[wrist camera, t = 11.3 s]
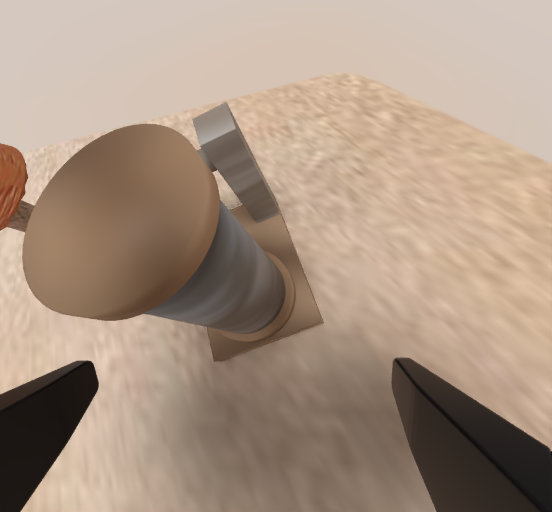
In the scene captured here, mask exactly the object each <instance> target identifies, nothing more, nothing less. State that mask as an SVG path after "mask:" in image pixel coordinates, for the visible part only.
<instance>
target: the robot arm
mask: <svg viewBox="0 0 552 512" xmlns="http://www.w3.org/2000/svg"><path fill="white" fill-rule="evenodd" d="M98 387H99V382H98V378H97V375H96V371H95V367H94V364H93V363H92V362H91V361H75V362H73V363H71V364H68V365H66V366H64V367H62V368H59V369H57V370H55V371H52V372H50V373H48V374H46V375H43V376H41V377H39V378H37V379H34V380H32V381H30V382H28V383H25V384H23V385H21V386H18V387H16V388H14V389H12V390H9V391H7V392H5V393H3V394H0V512H21V510H22V509H23V507H24V506H25V504H26V503H27V501H28V500H29V498H30V497H31V496H32V494H33V493H34V491H35V490H36V488H37V487H38V485H39V484H40V482H41V481H42V479H43V478H44V477H45V475H46V474H47V472H48V471H49V469H50V468H51V466H52V465H53V463H54V462H55V461H56V459H57V458H58V456H59V455H60V453H61V452H62V450H63V449H64V447H65V446H66V444H67V443H68V441H69V439H70V438H71V436H72V434H73V433H74V431H75V429H76V427H77V426H78V424H79V422H80V420H81V419H82V417H83V415H84V413H85V412H86V410H87V408H88V407H89V405H90V403H91V401H92V400H93V398H94V396H95V394H96V393H97V390H98ZM392 390H393V394H394V397H395V400H396V404H397V407H398V410H399V413H400V417H401V420H402V423H403V427H404V430H405V433H406V436H407V440H408V443H409V446H410V449H411V451H412V454H413V456H414V459H415V461H416V464H417V466H418V468H419V471H420V473H421V475H422V478H423V480H424V483H425V485H426V487H427V490H428V492H429V494H430V497H431V499H432V502H433V504H434V506H435V509H436V511H437V512H552V451H550V448H549V447H547V446H546V445H544V444H542V443H541V442H539V441H538V440H536V439H535V438H533V437H532V436H530V435H528V434H527V433H525V432H524V431H522V430H521V429H519V428H518V427H516V426H514V425H513V424H511V423H510V422H508V421H507V420H505V419H504V418H502V417H501V416H499V415H497V414H496V413H494V412H493V411H491V410H490V409H488V408H487V407H485V406H483V405H482V404H480V403H479V402H477V401H476V400H474V399H473V398H471V397H469V396H468V395H466V394H465V393H463V392H462V391H460V390H459V389H457V388H455V387H454V386H452V385H451V384H449V383H448V382H446V381H445V380H443V379H442V378H440V377H438V376H437V375H435V374H434V373H432V372H431V371H429V370H428V369H426V368H424V367H423V366H421V365H420V364H418V363H417V362H415V361H414V360H412V359H410V358H395V359H394V360H393V368H392Z"/></svg>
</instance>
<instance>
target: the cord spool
mask: <svg viewBox="0 0 552 512" xmlns="http://www.w3.org/2000/svg"><path fill="white" fill-rule="evenodd" d="M22 259H23V269H24V273H25V277H26V280H27V283H28V285H29V288H30V289H31V291H32V292H33V294H34V295H35V297H36V298H37V299H38V300H39V301H40V302H41V303H42V304H43V305H45V306H46V307H48V308H49V309H51V310H53V311H56V312H58V313H61V314H65V315H71V316H77V317H84V318H90V319H97V320H104V321H116V320H123V319H128V318H132V317H135V316H138V315H141V314H143V313H144V314H149V315H153V316H158V317H163V318H168V319H172V320H177V321H182V322H187V323H191V324H196V325H201V326H205V327H210V328H215V329H216V330H217V331H218V332H219V333H221V334H222V335H224V336H225V337H227V338H230V339H233V340H238V341H244V342H257V341H261V340H265V339H267V338H269V337H271V336H273V335H274V334H276V333H277V332H278V331H280V330H281V328H282V327H283V326H284V325H285V324H286V323H287V321H288V320H289V318H290V316H291V314H292V311H293V309H294V305H295V299H296V291H295V285H294V281H293V278H292V276H291V274H290V272H289V271H288V269H287V268H286V267H285V265H284V264H283V263H282V262H281V261H280V260H279V259H278V258H277V257H276V256H274V255H273V254H271V253H269V252H267V251H264V250H263V249H262V248H261V247H260V246H259V245H258V244H257V242H256V241H255V240H254V239H253V238H252V237H251V235H250V234H249V233H248V232H247V231H246V230H245V228H244V227H243V226H242V225H241V224H240V223H239V221H238V220H237V219H236V218H235V217H234V216H233V214H232V213H231V212H230V211H229V210H228V209H227V207H226V206H225V205H224V204H223V203H222V202H221V200H220V196H219V190H218V185H217V182H216V179H215V177H214V175H213V173H212V171H211V169H210V168H209V166H208V165H207V164H206V162H205V161H204V160H203V158H202V157H201V156H200V155H199V153H198V152H197V151H196V149H195V148H194V147H193V145H192V144H191V143H190V142H189V140H188V139H186V138H185V137H184V136H183V135H182V134H180V133H179V132H177V131H175V130H174V129H171V128H168V127H165V126H161V125H156V124H139V125H132V126H127V127H123V128H120V129H117V130H114V131H112V132H110V133H107V134H105V135H103V136H101V137H99V138H98V139H96V140H94V141H93V142H91V143H89V144H88V145H86V146H85V147H84V148H82V149H81V150H80V151H79V152H77V153H76V154H75V155H74V156H73V157H71V158H70V159H69V160H68V161H67V162H66V163H65V164H64V165H63V166H62V167H61V168H60V169H59V171H58V172H57V173H56V174H55V175H54V177H53V178H52V179H51V180H50V182H49V183H48V185H47V186H46V188H45V189H44V190H43V192H42V194H41V196H40V197H39V199H38V201H37V203H36V205H35V207H34V209H33V211H32V214H31V216H30V219H29V222H28V225H27V228H26V232H25V236H24V243H23V256H22Z"/></svg>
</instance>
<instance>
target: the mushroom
mask: <svg viewBox="0 0 552 512" xmlns="http://www.w3.org/2000/svg"><path fill="white" fill-rule="evenodd" d="M27 179H28V175H27V170H26V163H25V160H24V158H23V156H22V154H21V152H19V150H17V149H16V148H14V147H12V146H8V145H4V144H1V143H0V231H1V230H2V229H4V228H6V227H9V228H13V229H16V230H19V231H23V232H26V228H27V225H28V222H29V219H30V216H31V214H32V211H33V209H34V207H35V206H33V205H31V204H29V203H26V202H24V201H22V200H21V199H22V198H23V196H24V195H25V184H26V182H27Z"/></svg>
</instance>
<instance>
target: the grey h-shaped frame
mask: <svg viewBox="0 0 552 512" xmlns="http://www.w3.org/2000/svg"><path fill="white" fill-rule="evenodd" d="M193 123H194V127H195V130H196V134H197V137H198V141H199V144H200V147H201V148H202V149H200V150H197V152H198V153H199V155H200V156H201V157H202V158H203V160H204V161H205V162H206V164H207V165H208V166H209V168H210V169H211V171H212V172H214V171H216V170H218V171H219V172H220V174H221V175H222V177H223V178H224V179H225V181H226V182H227V183H228V185H229V186H230V187H231V189H232V190H233V191H234V193H235V194H236V196H237V197H238V198H239V200H240V201H241V202H242V204H243V205H241V206H239V207H237V208H235V209H233V210H230V212H231V213H232V214H233V216H234V217H235V218H236V219H237V220H238V221H239V223H240V224H241V225H242V226H243V227H244V228H245V230H246V231H247V232H248V233H249V234H250V235H251V237H252V238H253V239H254V240H255V241H256V242H257V244H258V245H259V246H260V247H261V248H262V249H263V250H264V251H267V252H269V253H271V254H273V255H274V256H276V257H277V258H278V259H279V260H280V261H281V262H282V263H283V264H284V265H285V267H286V268H287V269H288V271H289V272H290V274H291V276H292V278H293V281H294V285H295V291H296V299H295V305H294V309H293V311H292V314H291V316H290V318H289V320H288V321H287V323H286V324H285V325H284V326H283V327H282V328H281V330H280V331H278V332H277V333H276V334H274V335H273V336H271V337H269V338H267V339H265V340H261V341H257V342H244V341H238V340H233V339H230V338H227V337H225V336H224V335H222V334H221V333H219V332H218V331H217V330H216V329H215V328H210V327H207V331H208V335H209V340H210V345H211V349H212V354H213V359H214V362H215V361H223V360H225V359H228V358H231V357H233V356H236V355H239V354H241V353H244V352H247V351H249V350H252V349H255V348H257V347H260V346H263V345H265V344H268V343H271V342H273V341H276V340H279V339H281V338H284V337H287V336H289V335H292V334H295V333H297V332H300V331H303V330H305V329H308V328H311V327H313V326H316V325H319V324H321V323H324V322H323V320H322V317H321V315H320V312H319V310H318V307H317V304H316V302H315V299H314V297H313V294H312V292H311V289H310V286H309V284H308V281H307V279H306V276H305V274H304V271H303V268H302V266H301V263H300V261H299V258H298V256H297V253H296V251H295V248H294V245H293V243H292V240H291V238H290V235H289V233H288V230H287V227H286V225H285V222H284V220H283V217H282V215H281V212H280V209H279V207H278V204H277V202H276V199H275V197H274V195H273V193H272V191H271V189H270V187H269V186H268V184H267V182H266V180H265V178H264V176H263V174H262V172H261V170H260V168H259V166H258V164H257V162H256V160H255V158H254V156H253V154H252V152H251V150H250V148H249V146H248V144H247V142H246V140H245V138H244V136H243V134H242V132H241V130H240V128H239V126H238V124H237V122H236V120H235V118H234V116H233V114H232V112H231V110H230V108H229V107H228V105H227V103H226V102H225V103H223V104H221V105H219V106H217V107H215V108H213V109H211V110H209V111H207V112H206V113H204V114H202V115H200V116H198V117H196V118H194V119H193Z"/></svg>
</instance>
